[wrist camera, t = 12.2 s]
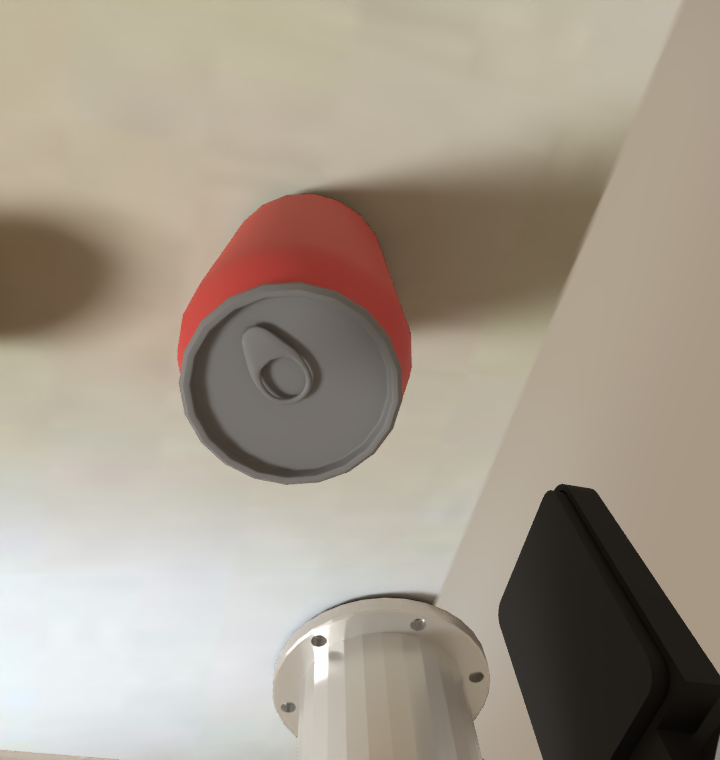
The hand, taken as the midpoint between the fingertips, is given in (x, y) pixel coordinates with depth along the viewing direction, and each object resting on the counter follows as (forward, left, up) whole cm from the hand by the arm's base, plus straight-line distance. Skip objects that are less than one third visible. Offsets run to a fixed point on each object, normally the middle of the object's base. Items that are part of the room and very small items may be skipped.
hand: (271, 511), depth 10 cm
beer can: (0, 0, -17) cm, 17 cm away
